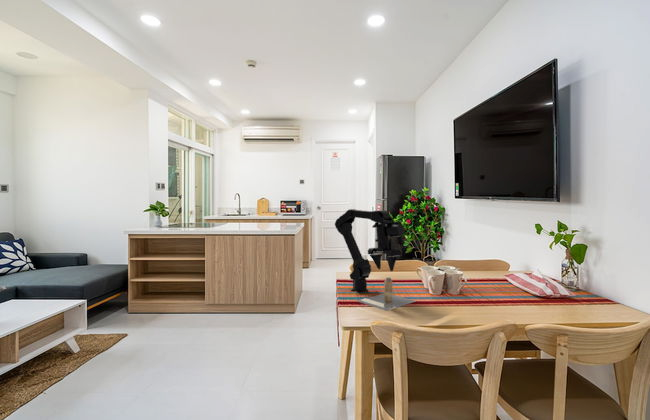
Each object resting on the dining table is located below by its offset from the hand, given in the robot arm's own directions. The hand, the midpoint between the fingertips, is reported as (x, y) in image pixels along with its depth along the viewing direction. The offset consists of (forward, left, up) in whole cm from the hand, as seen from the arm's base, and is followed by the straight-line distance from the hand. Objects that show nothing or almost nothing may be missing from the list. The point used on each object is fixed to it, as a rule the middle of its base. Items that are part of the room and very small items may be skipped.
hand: (385, 270), depth 155 cm
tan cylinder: (+13, -14, -11) cm, 22 cm away
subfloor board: (+7, -8, -13) cm, 17 cm away
